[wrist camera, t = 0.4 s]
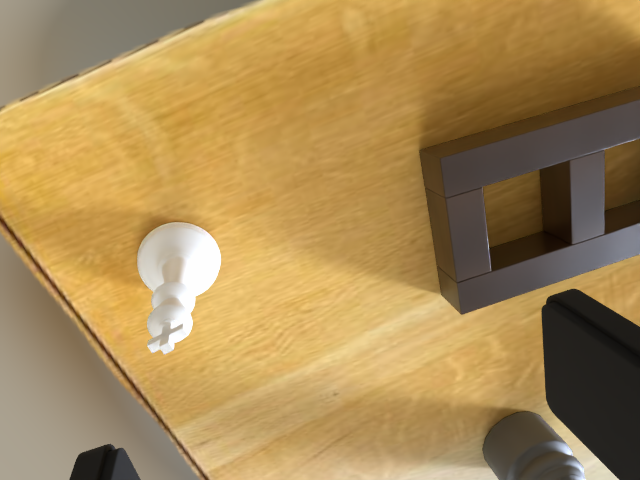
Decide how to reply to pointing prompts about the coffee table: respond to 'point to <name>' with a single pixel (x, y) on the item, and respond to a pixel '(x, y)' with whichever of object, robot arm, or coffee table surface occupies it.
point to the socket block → (557, 201)
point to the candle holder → (529, 450)
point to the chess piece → (175, 278)
